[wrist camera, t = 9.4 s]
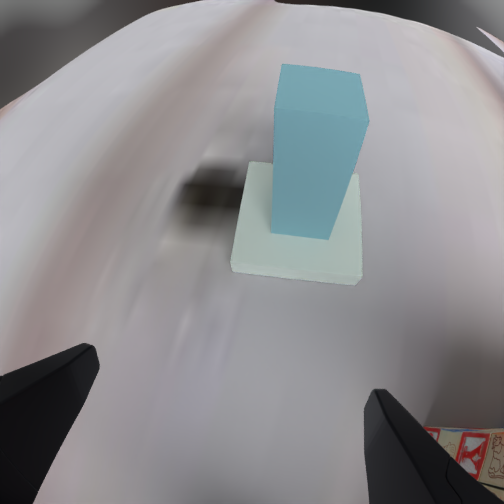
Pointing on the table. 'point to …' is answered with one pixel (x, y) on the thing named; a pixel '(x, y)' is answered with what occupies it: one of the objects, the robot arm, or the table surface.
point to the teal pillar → (314, 147)
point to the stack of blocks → (476, 453)
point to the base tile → (295, 237)
